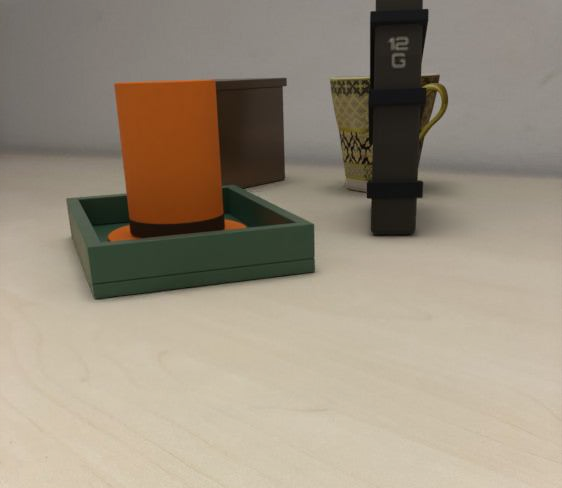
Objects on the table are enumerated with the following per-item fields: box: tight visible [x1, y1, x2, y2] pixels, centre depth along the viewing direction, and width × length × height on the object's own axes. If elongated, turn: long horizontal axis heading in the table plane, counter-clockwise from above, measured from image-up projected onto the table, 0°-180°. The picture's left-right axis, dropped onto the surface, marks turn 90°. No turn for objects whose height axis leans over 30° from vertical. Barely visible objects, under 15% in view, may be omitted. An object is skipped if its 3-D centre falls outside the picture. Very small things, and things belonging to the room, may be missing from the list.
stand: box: [204, 77, 288, 189], centre depth 72 cm, size 11×11×10 cm
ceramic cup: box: [329, 73, 449, 193], centre depth 65 cm, size 13×10×10 cm
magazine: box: [366, 0, 430, 236], centre depth 52 cm, size 4×13×15 cm, turn 173°
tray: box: [65, 185, 316, 300], centre depth 46 cm, size 17×13×3 cm
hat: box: [108, 79, 247, 242], centre depth 44 cm, size 9×9×10 cm
